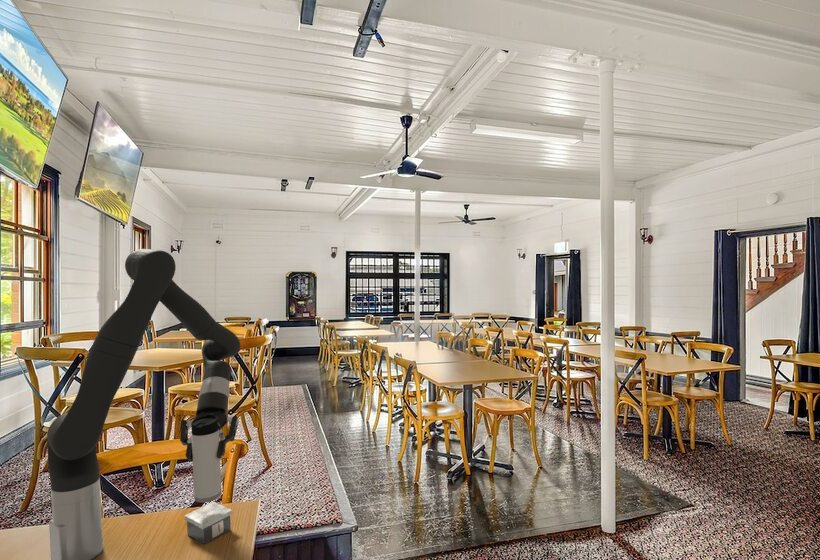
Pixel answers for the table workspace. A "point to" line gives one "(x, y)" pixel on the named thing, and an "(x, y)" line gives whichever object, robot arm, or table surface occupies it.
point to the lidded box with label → (208, 522)
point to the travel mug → (206, 458)
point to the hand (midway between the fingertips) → (204, 458)
